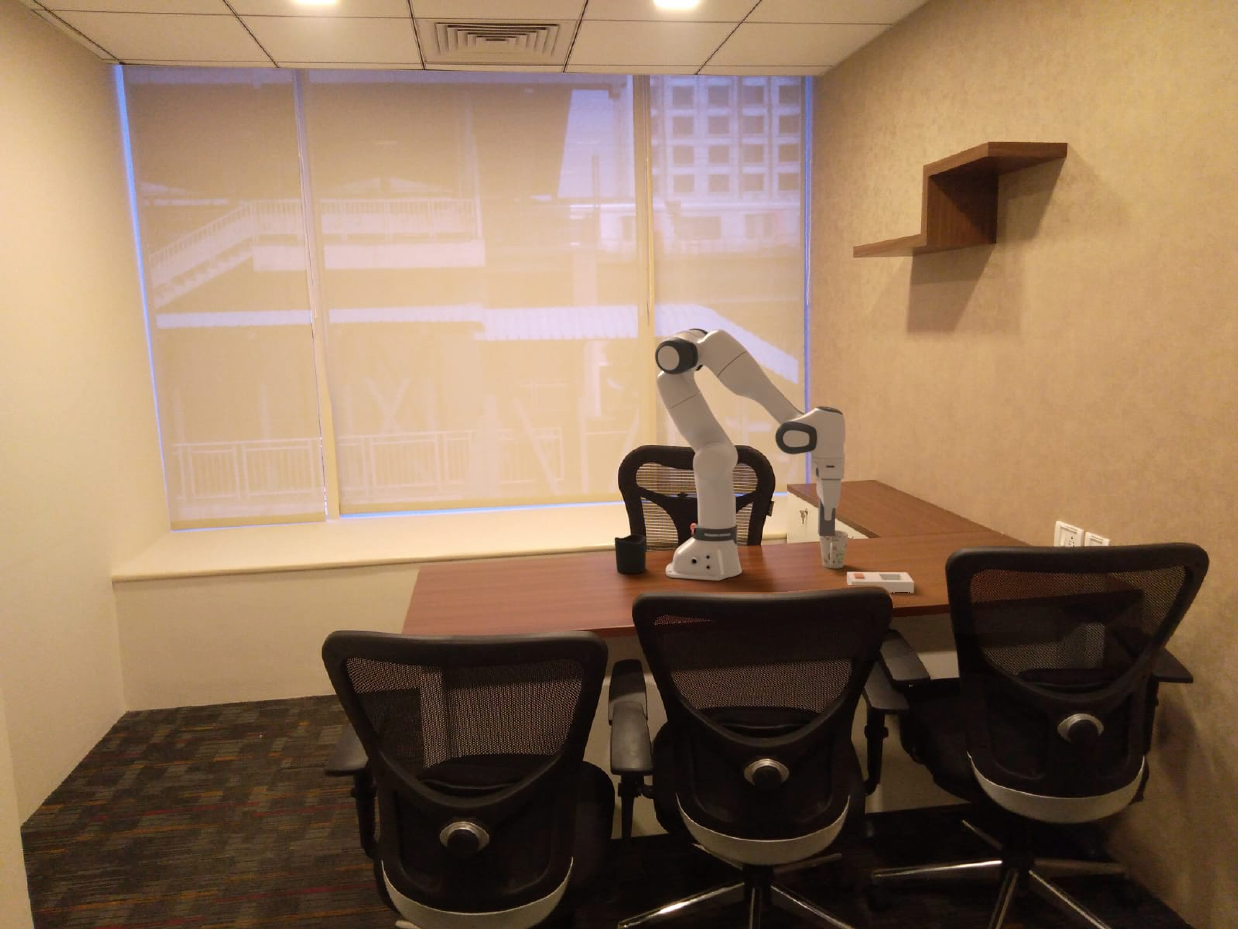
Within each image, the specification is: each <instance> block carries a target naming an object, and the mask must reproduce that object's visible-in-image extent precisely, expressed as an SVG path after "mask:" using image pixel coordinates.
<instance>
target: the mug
mask: <svg viewBox="0 0 1238 929" xmlns="http://www.w3.org/2000/svg"><path fill="white" fill-rule="evenodd" d="M818 536H819V535H818ZM818 539H819V546H820V552H821V553H820V554H821V560H822V566H823V567H824V568H827V569H841V568H844V566H845V559H846V552H847V546H848V539H849V533H848V532H846V531H845V530H839V529H838V530H837V529H835V536H819V538H818Z"/></svg>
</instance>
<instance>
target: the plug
mask: <svg viewBox="0 0 1238 929" xmlns="http://www.w3.org/2000/svg"><path fill="white" fill-rule="evenodd" d="M817 511H818V513H817V514H818V518H817V520H818V521H817V523H818V524H817V534H818V536H835V530H836V508H833V510H832V516H831V520H825V519H824V506H823V504H822V502H821V499H820V497H818V510H817Z"/></svg>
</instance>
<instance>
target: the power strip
mask: <svg viewBox="0 0 1238 929" xmlns="http://www.w3.org/2000/svg"><path fill="white" fill-rule="evenodd" d="M846 584H847V586H848V585H877V586H882V587H884V588H885V589H887V590H888V591H889V592H890V594H896V593H895V592H908V593H907V594H914V592H915V586H914V585H915V581H914V580H913V579H912V577H911V576H910V575H909V573H908V572H907V571H906V572H905V571H904V572H897V571H896V572H893V571H891V572H889V571H888V572H887V571H886V572H884V571H883V572H882V571H881V572H880V571H873V572H872V571H847V572H846ZM892 592H893V593H892ZM909 592H910V593H909Z"/></svg>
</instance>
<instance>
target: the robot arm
mask: <svg viewBox="0 0 1238 929" xmlns="http://www.w3.org/2000/svg"><path fill="white" fill-rule="evenodd" d="M654 359H655V363H656V365H657V367H658V369H660V372H659V373H658V375H657V377H656V385H657V390H658V392H659V394H660V397H661V400H662V402H663V404H664V406H665V408H666V410H667V412H668V414H669V416H670V417H671V419H672V421H673V423H674V425H675V428H676V429H677V431H678V432H679V434H680V435H681V437H682V438H684V439H685V441H686V442H687V443H688V445H689V446H690V447H691V449H692V450H693V452H694V453H695V454H694V456H693V460H692V469H693V475H694V485H695V490H696V497H697V523H694V522H693V523H691V525H690V527H689V528H690V531H691V532H690V534H691V537H689V539H688V540H686V541H684V542H683V543H682V544H680V546H678V548H676V550H675V551H674V553H673V558H672V562H670V563H669V564H667V565H666V568H665V574H666V576H668V577H669V578H675V579H690V580H705V581H721V580H724V579H726V578H733V577H736V576H738V575H740V574H742V573H743V570H742V567H741V563H740V558H739V553H738V552H739V551H738V541H739V530H738V524H737V519H736V518H737V516H736V515H737V514H736V513H737V511H736V507H737V506H736V504H737V502H736V494H735V489H734V479H733V478H734V477H733V471H734V469H735V467H736V466H737V464H738V460H739V453H738V451H737V450H738V449H737V448H736V446H735V445H734V443H733V442H732V440H731V439H730V437H729V436H728V434H727V432H726V431H725V430H724V428H723V427H722V425H721V423H720V422H719V421H718V420H717V419H716V417H715V415H714V413H713V412H712V410H711V408H710V406H709V405H708V403H707V401H706V399H705V397H704V394H703V393H702V392H701V389H700V387H699V385H698V384H697V382H696V379H695V373H696V372H698V371H700V370H701V369H702V368H703V367H704V366H705V367H706V368H707V369H709V370H710V371H711V372H712V373H713V375H714V376H715V377H716V378H717V380H718V381H719V382H720V383H721V384H722V385H723V386H724V387H725V388H726V389H728V390H729V391H730V392H731V393H733V394H734V395H735V396H740V397H744V398H747V399H749V400H752V401H755V402H756V403H758V404H759V405H760V406H762V407H763V409H764V410H765V411H766V412H768V413H769V415H770V416H771V417H772V418H773V419H774V420H775V421H776V422H777V423H778V424H779V426H778V427H777V429H776V431H775V436H774V437H775V438H774V439H775V443H776V446H777V447H778V448H779V449H780V451H781V452H783V453H785V454H787V455H793V456H794V455H795V456H797V455H800V454H806V453H810V474H812V475H814V477H815V478H814V479H815V480H816V485H815V487H816V488H815V489H816V490H815V492H816V495H817V497H818V498H819V497H820V499H821V502H822V504H823V506H824V519H825V520H831V516H832V510H833V508H835V509H838V508H839V504H840V499H841V490H842V480H843V479H844V478H845V470H846V465H845V464H846V454H845V451H844V450H845V448H844V447H845V443H846V421H845V420H846V419H845V416H844V413H843V412H842V411H841V410H839V409H837V408H834V407H829V406H824V405H821V406H820V405H819V406H815V407H814V408H813V409H812V410H810V411H808V412H806V413H804V412H802V411H800V410H799V409H798V408H796V406H794V405H793V404H792V402H790V400H788V399H787V397H786V396H785V395H784V394H783V393H782V392H781V391H780V390H779V389H778V388H777V387H776V386H775V385H774V383H772V381H771V380H770V378H769V377H768V375H766V373H765V372H764V370H763V369H762V368H761V365H760V364H759V363H758V362H757V360H755V358H754V356H752V354H751V353H750V352H749V351H748V350H747V349H746V347H745V346H744V345H742V344H741V342H740V341H738V340H737V339H736V338H735V337H734V336H732V335H731V334H730V333H728V332H727V331H726V330H724V329H714V330H712V331H709V332H708V331H706V330H705V329H702V328H695V327H694V328H689V329H688V330H682V331H680V332H676V333H675V334H673V335H671V336H668V337H666V338H665V339H663V340H662V341H661V342H660V343H659V344H658V345H657V347H656V349H655V352H654Z"/></svg>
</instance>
